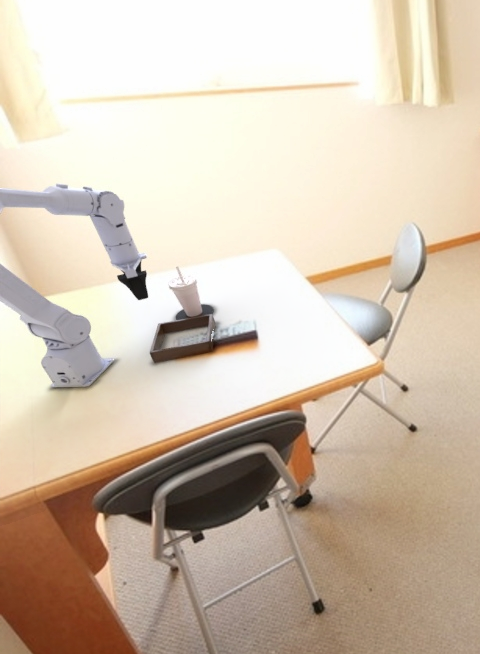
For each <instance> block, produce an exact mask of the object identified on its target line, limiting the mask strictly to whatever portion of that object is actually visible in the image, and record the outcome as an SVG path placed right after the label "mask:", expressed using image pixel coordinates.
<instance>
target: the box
mask: <svg viewBox="0 0 480 654" xmlns="http://www.w3.org/2000/svg"><path fill="white" fill-rule="evenodd" d="M216 325H217V323H216V321H215V317H214V315H213V313H212V314H209V315H204V316H198V317H192V318H187V319H181V320H176V319H175V320H171V321H165V322H160V323H159V322H158V323H157V327H156V329H155V333H154V337H153V340H152V343H151V347H150V350H149V355H150V357H151V359H152V361H153V363H154V364H157V363H161V362H166V361H171V360H176V359H177V360H178V359H182V358H186V357H192V356H197V355H202V354H207V353H211V352H213V350H214V343H215V342H214V341H215V338H214V339H212V342H211V334H212V331H214V332H215V333H216ZM205 327H207V331H206V336H205V337H206V338H205V340H202V341H198V342H193V343H186V344H183V345H177V346H171V347H167V348H162V345H163V342H164V338H165V335H167V334H173V333H178V332H182V331H188V330H192V329H193V330H194V329H200V328H205ZM213 329H214V330H213Z"/></svg>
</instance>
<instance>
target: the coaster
mask: <svg viewBox="0 0 480 654" xmlns="http://www.w3.org/2000/svg"><path fill="white" fill-rule="evenodd" d="M201 307H202V313H201V314H199V315H197V316H193V317H198V316H204V315H209V314H212V315H213V314H214V307H213V306H212V305H210V304H205V303H204V304H202V303H201ZM187 318H192V317H190V316H187V314H186V313H185V311H184V309H183V308H182V309H181V310H179V311H178V312H177V313H176V315H175V320H181V319H187Z"/></svg>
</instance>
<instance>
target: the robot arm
mask: <svg viewBox="0 0 480 654" xmlns="http://www.w3.org/2000/svg"><path fill="white" fill-rule="evenodd" d="M4 208H26V209H29V208H30V209H31V208H32V209H33V208H34V209H45V210H46V211H47V212H48V213H50V214H51V215H55V216H75V217H76V216H78V217H80V216H81V217H89V218H90V220H91V222H92V224H93V226H94V228H95V231H96V232H97V234H98V236H99V238H100V240H101V243H102V245H103V247H104V250H105V252H106V253H107V255H108V258H109V260H110V264H111V266H112V267H114V268H116V269H118V270H120V271H121V272H122V274H118V275H116V277H117V280H118V281H119V282H120V283H121V284H123V285H124V286H126V288H128V289H129V291H130V292H131V293H132V294H133V296H134V297H135V298H136V300H137V301H142V300H147V299H148V298H149V292H148V288H147V276H148V275H147V274H148V273H147V270H142V261H143V260H145V259H147V258H148V256H147V254H146V253H144V252H143V253H139V250H138V248H137V245H136V243H135V241H134V238H133V236H132V234H131V231H130V229H129V227H128V225H127V222H126V217H125V214H124V211H125V201H124V199H121V198H120V197H119V195H117V194H116V193H114V192H113V191H109V190H102V189H94V188H92V187H90V186H82V188H81V187H80V188H79V187H69V184H65V183H56V184H55V185H49V186H48V187H46V188H45V189H43V191H37V190H36V191H35V190H26V189H15V188H5V187H0V214H1V213H2V212H3V210H4ZM0 302H1V303H2V304H3V305H5V306H7V307H8V308H10V310H12V311H14V312H15V313H17V314H18V315H20V316H19V320H20V321H21V322H23V324H25V325H26V327H27V329H28V331H29V332H30V333H31V335H33V336H35V337H37V338H40V339H42V340H43V342H44V345H45V346H46V352H45V355H44V356H43V357H42V358H41V361H40V364H41V367H42V368H43V371H44V372H45V373H46V375H47V376H48V377H49V379H50V381H51V382H52V384H50V387H51V388H84V387H85V388H86V387H89V386H91V385H92V384H93V383H94V382H95V381H96V380H97V379H98V378H99V377H100V376H101V375H102V374H103V372H105V371H106V370H107V369H108V368H109V367H110V365H111V364H113V363H114V362H115V359H114V358H102V356H101V354H100V352H99V351H98V348H97V347H96V345H95V343H94V342H93V340H92V338H91V336H90V334H91V331H92V326H91V325H92V324H91V322H90V321H89V319H88V318H87V317H85V316H84V315H81V314H75V313H73V312H71V311H70V310H68V309H67V308H64V307H62V306H60V305H59V304H57V303H54V302H52V301H50V300H49V299H48V298H46V297H45V296H44V295H42V294H41V293H40V292H38V291H37V290H36V289H34V288H33V287H32V286H31V285H29V284H28V283H26V282H25V281H24V280H22V278H20V277H19V276H17V275H16V274H15V273H13V272H12V271H11V270H10V269H8V268H7V267H5V266H4V265H3V264H1V263H0Z"/></svg>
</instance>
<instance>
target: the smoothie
mask: <svg viewBox="0 0 480 654" xmlns="http://www.w3.org/2000/svg"><path fill="white" fill-rule="evenodd" d="M175 269H176V271H177V274H178V277H175V278H173V279H171V280H170V281H169V282H168V284H167V285H168V288H169V290H171V291H172V292H173V295H174V296H175V298H176V300H177V301H178V302H179V304H180V306H181V308H182V310H183V309H184V311H185V313H186V314H187V316H190V317H193V316H197V315H199V314H201V313H202V307H201V304H202V303H201V299H200V295H199V289H198V285H197V284H198V280H197V278H196V276H193V275H182V273H181V270H180V267H179V266H175Z"/></svg>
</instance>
